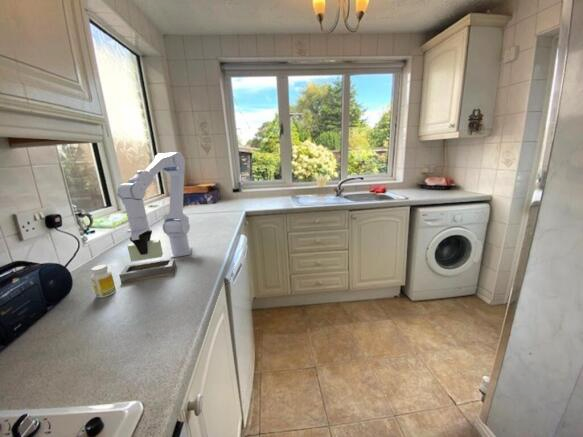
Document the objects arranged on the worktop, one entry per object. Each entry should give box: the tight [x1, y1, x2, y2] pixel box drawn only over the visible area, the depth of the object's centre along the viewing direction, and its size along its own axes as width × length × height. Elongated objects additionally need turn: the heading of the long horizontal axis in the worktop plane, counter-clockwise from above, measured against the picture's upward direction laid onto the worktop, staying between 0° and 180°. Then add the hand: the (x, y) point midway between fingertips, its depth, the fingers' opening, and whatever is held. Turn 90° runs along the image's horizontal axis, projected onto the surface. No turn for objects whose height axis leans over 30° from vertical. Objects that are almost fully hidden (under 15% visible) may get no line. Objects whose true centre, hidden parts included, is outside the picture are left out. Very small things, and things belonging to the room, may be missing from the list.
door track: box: [119, 257, 177, 284], centre depth 95 cm, size 8×17×3 cm, turn 106°
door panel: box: [127, 238, 164, 262], centre depth 93 cm, size 3×10×6 cm, turn 106°
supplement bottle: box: [90, 264, 117, 299], centre depth 82 cm, size 5×5×10 cm
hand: (145, 252), depth 93 cm, fingers closed on door panel, 3 cm apart
